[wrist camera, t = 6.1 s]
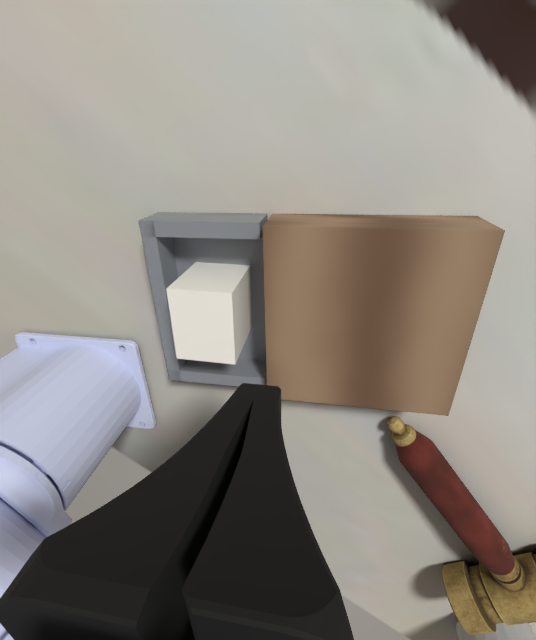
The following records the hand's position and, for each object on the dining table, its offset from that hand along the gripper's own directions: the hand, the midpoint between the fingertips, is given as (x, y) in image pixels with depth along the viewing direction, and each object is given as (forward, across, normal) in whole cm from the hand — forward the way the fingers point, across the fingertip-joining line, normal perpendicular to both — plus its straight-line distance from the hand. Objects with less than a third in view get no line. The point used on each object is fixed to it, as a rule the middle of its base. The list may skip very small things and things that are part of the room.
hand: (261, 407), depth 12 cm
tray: (+10, +4, 0) cm, 10 cm away
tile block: (+7, +2, 0) cm, 7 cm away
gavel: (+10, -13, +16) cm, 23 cm away
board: (+10, -4, 0) cm, 10 cm away
